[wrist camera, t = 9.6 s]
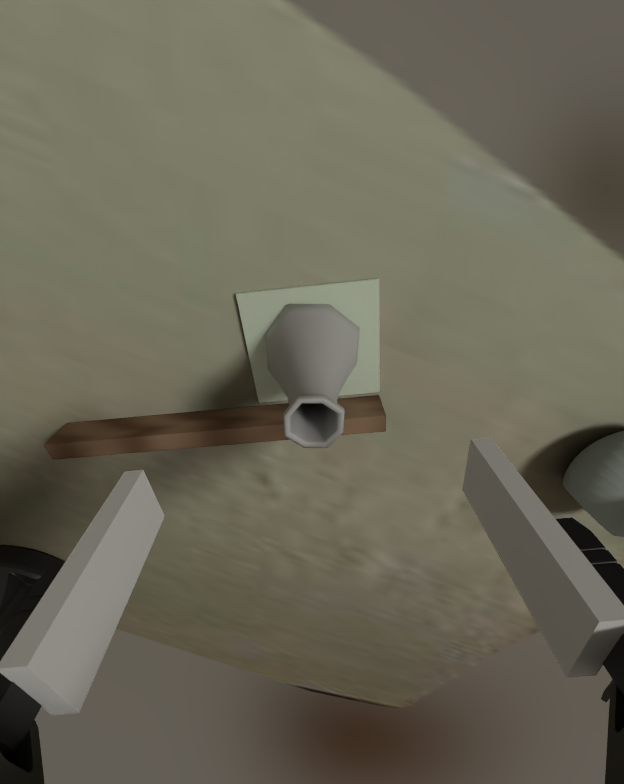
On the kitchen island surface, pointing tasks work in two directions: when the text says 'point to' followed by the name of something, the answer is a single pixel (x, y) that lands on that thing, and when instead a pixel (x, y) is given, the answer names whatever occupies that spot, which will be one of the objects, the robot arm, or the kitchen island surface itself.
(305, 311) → the flask
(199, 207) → the kitchen island surface
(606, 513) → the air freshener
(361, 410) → the rail
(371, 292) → the board
